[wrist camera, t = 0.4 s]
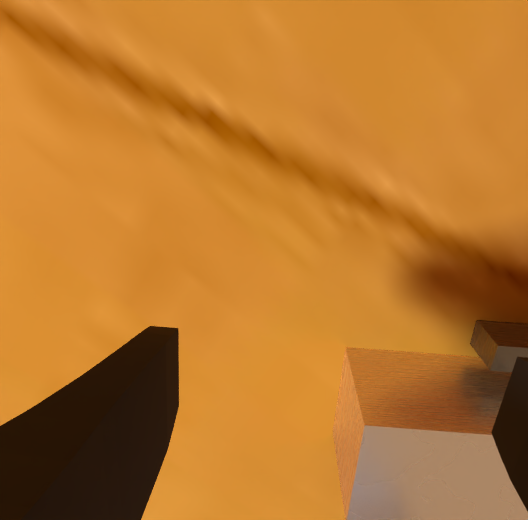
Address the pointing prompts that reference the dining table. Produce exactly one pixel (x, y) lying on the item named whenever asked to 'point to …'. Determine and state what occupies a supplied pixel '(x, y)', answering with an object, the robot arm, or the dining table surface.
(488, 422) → the lock block
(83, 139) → the dining table surface
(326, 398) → the dining table surface
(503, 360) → the guide rails
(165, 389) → the robot arm
